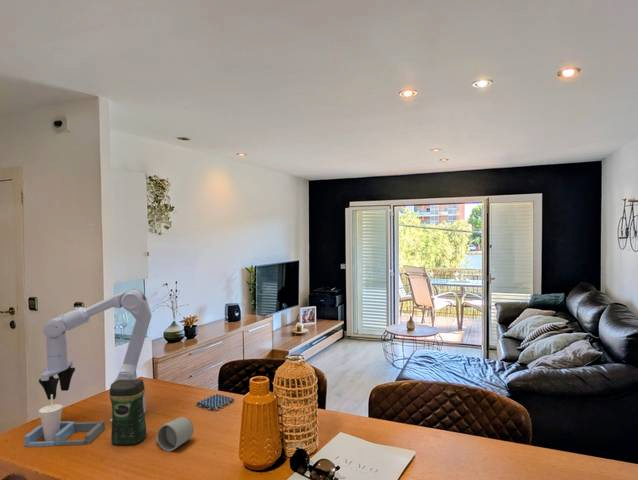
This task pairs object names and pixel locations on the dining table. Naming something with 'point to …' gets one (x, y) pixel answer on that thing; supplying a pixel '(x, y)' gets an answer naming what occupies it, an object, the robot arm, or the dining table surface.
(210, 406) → the woven mat
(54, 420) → the smoothie
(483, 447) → the dining table surface
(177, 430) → the grey hollow cylinder
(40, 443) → the frame
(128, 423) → the coffee jar
